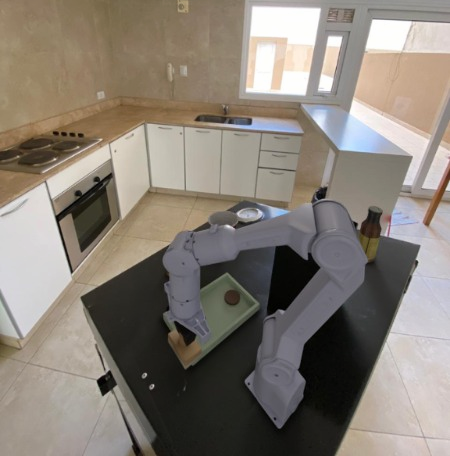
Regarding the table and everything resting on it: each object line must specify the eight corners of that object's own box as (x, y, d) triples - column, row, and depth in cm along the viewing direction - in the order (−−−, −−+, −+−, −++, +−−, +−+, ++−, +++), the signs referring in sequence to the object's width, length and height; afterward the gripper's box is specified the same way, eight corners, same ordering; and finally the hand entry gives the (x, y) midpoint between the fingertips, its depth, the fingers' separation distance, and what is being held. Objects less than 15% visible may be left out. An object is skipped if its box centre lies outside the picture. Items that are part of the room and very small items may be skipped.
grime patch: (243, 300, 71) (243, 298, 71) (231, 308, 68) (231, 306, 68) (233, 289, 74) (233, 287, 74) (221, 296, 72) (221, 294, 71)
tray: (259, 310, 69) (259, 303, 68) (192, 367, 56) (192, 360, 55) (226, 278, 78) (227, 272, 77) (163, 320, 65) (162, 313, 64)
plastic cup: (223, 231, 99) (224, 205, 95) (243, 246, 92) (245, 219, 87) (201, 244, 92) (201, 216, 88) (220, 261, 85) (222, 232, 80)
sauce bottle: (374, 255, 90) (389, 208, 83) (372, 266, 85) (389, 217, 78) (354, 248, 94) (367, 201, 86) (351, 258, 89) (365, 210, 81)
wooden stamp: (201, 356, 53) (203, 328, 51) (185, 369, 51) (186, 340, 48) (183, 330, 58) (184, 303, 56) (168, 341, 56) (168, 313, 53)
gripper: (149, 275, 51) (153, 321, 56) (187, 332, 41) (188, 382, 46) (179, 259, 56) (181, 303, 61) (221, 307, 45) (218, 355, 50)
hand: (186, 336), depth 54 cm, fingers closed on wooden stamp, 2 cm apart
